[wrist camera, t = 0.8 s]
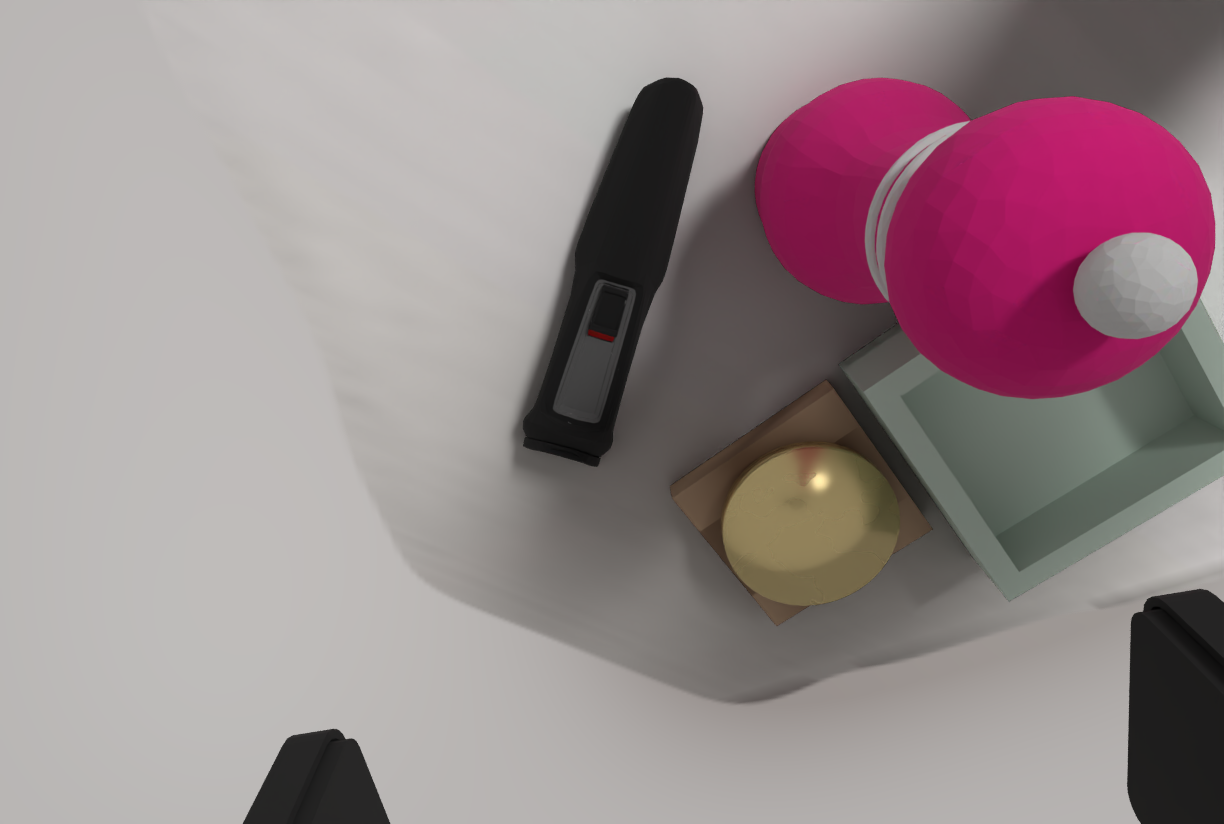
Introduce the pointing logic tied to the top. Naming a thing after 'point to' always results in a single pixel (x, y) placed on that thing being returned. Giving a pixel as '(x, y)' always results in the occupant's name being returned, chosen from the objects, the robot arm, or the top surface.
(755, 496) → the gold disc
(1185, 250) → the pepper mill
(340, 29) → the top surface
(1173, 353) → the trough tray
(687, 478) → the checker plinth
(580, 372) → the electric trimmer
